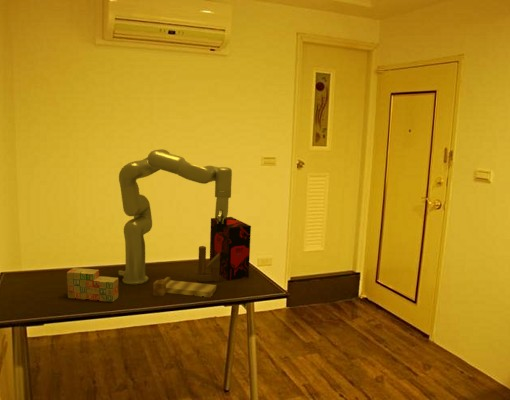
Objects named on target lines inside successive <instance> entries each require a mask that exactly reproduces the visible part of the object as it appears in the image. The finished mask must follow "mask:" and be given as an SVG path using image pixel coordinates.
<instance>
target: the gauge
mask: <svg viewBox="0 0 510 400" xmlns="http://www.w3.org/2000/svg"><path fill="white" fill-rule="evenodd" d="M170 280H172V278H171V276H166V277H165V278H164V279H163V280H161V279H156V280H155V281H154V282H153V287H152V288H153V289H152V290H153V291H152V292H153V293H152V294H153V297H154V296H155V297H163V296H165V295H166V283H167V282H169V281H170Z"/></svg>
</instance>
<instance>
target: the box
mask: <svg viewBox="0 0 510 400" xmlns="http://www.w3.org/2000/svg"><path fill="white" fill-rule="evenodd" d="M217 220H218V218H217V219H216V218H215V217H211V218H210V232H209V233H210V235H209V236H210V241H209V262H210V261H211V260H212V259H213V258H214V257H215V256H216V255H217V254H218V253H219V254H220V268H219V276H220V277H222V278H223V279H225V280H226V281H233V280H235V281H236V280H241V279H247V278H248V279H249V275H250V255H251V254H250V253H251V234H252V233H251V232H252V225H250V224H248V223H245V222H243V221H241V220H239V219H237V218H235V217H233V216H227V227H224V232H217ZM210 269H211V270H212V268H210Z"/></svg>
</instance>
